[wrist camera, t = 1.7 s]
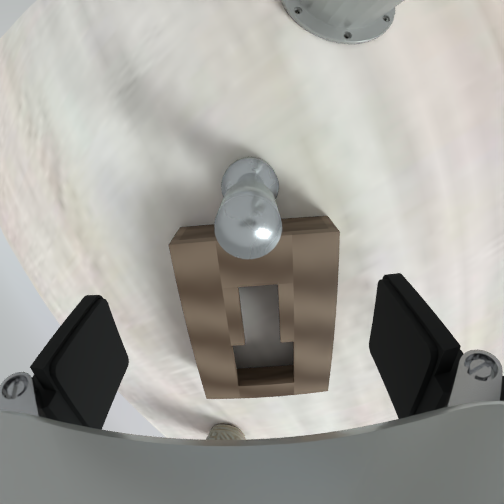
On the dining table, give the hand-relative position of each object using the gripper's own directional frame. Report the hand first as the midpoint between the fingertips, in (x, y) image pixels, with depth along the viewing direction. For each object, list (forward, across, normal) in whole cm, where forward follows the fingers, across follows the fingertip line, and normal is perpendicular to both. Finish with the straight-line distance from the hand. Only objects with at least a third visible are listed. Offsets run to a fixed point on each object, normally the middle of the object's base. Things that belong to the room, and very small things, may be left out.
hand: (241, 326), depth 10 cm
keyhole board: (+23, 0, +15) cm, 27 cm away
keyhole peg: (+23, 0, 0) cm, 23 cm away
